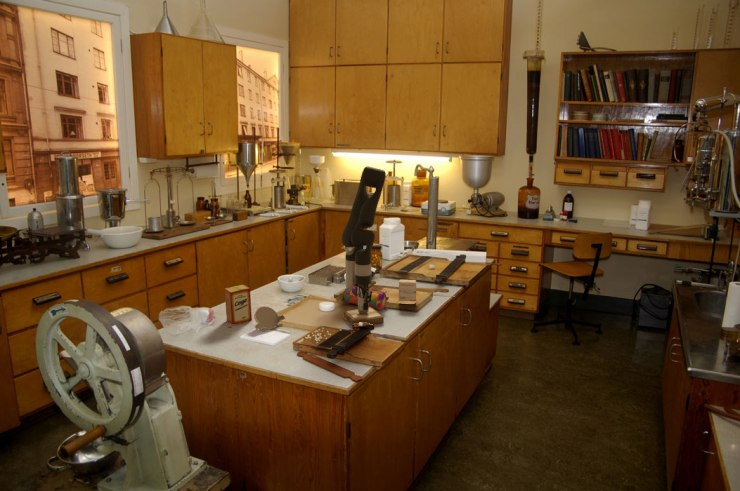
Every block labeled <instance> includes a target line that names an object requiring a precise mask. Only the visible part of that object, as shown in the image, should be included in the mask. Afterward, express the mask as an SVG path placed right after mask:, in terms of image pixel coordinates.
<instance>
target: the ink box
mask: <svg viewBox="0 0 740 491" xmlns="http://www.w3.org/2000/svg"><path fill="white" fill-rule="evenodd" d="M399 301H416V302H417V280H416V279H399V280H398V302H399Z"/></svg>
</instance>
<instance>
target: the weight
mask: <svg viewBox="0 0 740 491" xmlns="http://www.w3.org/2000/svg"><path fill="white" fill-rule="evenodd" d="M363 296H366V295H363ZM357 309H358V312H359V313H368V312H369V303H368V310H366V311H364V310H363V298H362V297H361V295H360V296H358V305H357Z"/></svg>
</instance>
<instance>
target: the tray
mask: <svg viewBox="0 0 740 491" xmlns="http://www.w3.org/2000/svg"><path fill="white" fill-rule="evenodd" d="M342 312H343V313H342V314H343V318H344V319H345V320H346V321H347V323H349V324H350V325H352V324H354V323H359V322H367V323H370V324H373V325H372V326H374V325H380V324H384V322H385V319H384V318H385V317H384V316H383V315H382V314H380V313H379V311H377V310H376V309H374V308H372V307H369V312H368V313H359V312H358V308H355V309H350V310H349V309H348V310H344V311H342ZM352 326H353V325H352Z"/></svg>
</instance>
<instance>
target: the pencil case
mask: <svg viewBox="0 0 740 491" xmlns="http://www.w3.org/2000/svg"><path fill="white" fill-rule="evenodd" d="M369 291H372V296H371V302H369V307H372V308H373V309H374V310H380V311H381V310H383V309H384V308H386V306H387V301H389V298H390V296H387V293H388V291H385V292H384V291H382V290H379V291H374V290H372V289H369ZM343 300H344V301H345V302H346V303H348V304H349V303H350V304H353V305H357V306H358V297H357V296H356V291H355V286H349V287H348V288H346V287H345V290H344V293H343Z"/></svg>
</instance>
